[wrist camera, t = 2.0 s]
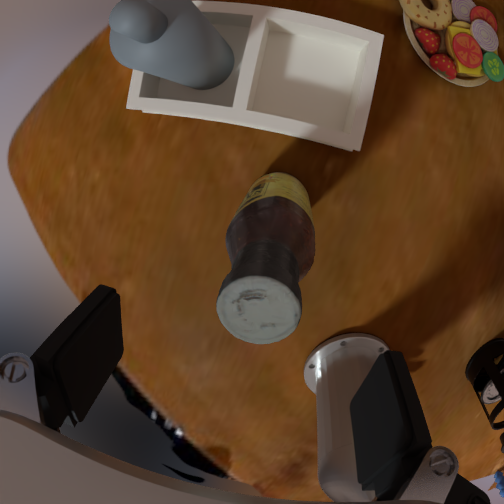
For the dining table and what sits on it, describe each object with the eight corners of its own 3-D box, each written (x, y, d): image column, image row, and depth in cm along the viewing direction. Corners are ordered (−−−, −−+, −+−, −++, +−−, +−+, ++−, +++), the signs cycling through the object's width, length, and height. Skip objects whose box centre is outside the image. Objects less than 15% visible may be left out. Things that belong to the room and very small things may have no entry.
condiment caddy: (372, 45, 24) (443, -18, 9) (350, 151, 29) (412, 177, 13) (167, 13, 25) (79, -48, 9) (146, 112, 30) (35, 114, 14)
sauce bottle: (259, 162, 31) (211, 215, 12) (317, 182, 31) (354, 265, 12) (240, 219, 33) (181, 334, 15) (295, 238, 33) (296, 371, 15)
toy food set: (385, -20, 20) (393, -32, 17) (476, -5, 18) (489, -12, 15) (414, 85, 25) (426, 81, 22) (502, 91, 23) (517, 91, 20)
